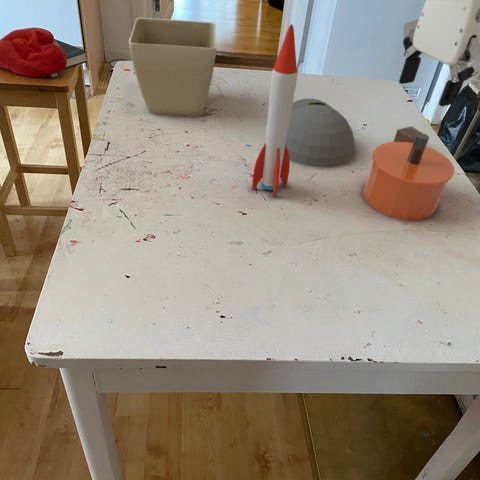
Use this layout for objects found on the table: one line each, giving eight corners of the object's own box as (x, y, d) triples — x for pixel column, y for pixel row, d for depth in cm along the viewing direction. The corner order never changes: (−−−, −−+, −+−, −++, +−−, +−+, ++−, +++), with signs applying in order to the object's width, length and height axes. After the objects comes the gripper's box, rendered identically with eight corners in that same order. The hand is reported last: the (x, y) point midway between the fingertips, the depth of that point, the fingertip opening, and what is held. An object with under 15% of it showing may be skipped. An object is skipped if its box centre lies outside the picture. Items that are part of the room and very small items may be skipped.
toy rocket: (286, 189, 97) (315, 24, 76) (274, 201, 94) (301, 32, 72) (262, 180, 99) (284, 16, 77) (250, 192, 96) (269, 23, 74)
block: (405, 144, 115) (411, 126, 112) (418, 153, 113) (425, 134, 109) (391, 148, 113) (397, 129, 110) (404, 156, 111) (411, 138, 107)
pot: (400, 176, 104) (413, 140, 98) (449, 212, 96) (467, 174, 90) (349, 191, 99) (359, 153, 92) (396, 229, 91) (411, 191, 84)
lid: (412, 141, 99) (422, 112, 95) (469, 178, 90) (483, 148, 86) (355, 155, 93) (363, 124, 89) (410, 195, 84) (422, 164, 80)
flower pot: (141, 88, 126) (136, 15, 113) (212, 92, 127) (215, 21, 115) (134, 120, 113) (127, 42, 100) (214, 124, 115) (216, 48, 102)
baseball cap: (345, 112, 121) (359, 69, 110) (352, 189, 108) (368, 148, 98) (272, 106, 120) (279, 61, 109) (270, 182, 108) (277, 140, 97)
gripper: (533, -12, 66) (478, 110, 79) (442, -41, 76) (406, 72, 88) (498, -9, 63) (447, 117, 76) (408, -40, 73) (376, 77, 85)
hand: (425, 93), depth 82 cm, fingers open, 9 cm apart
